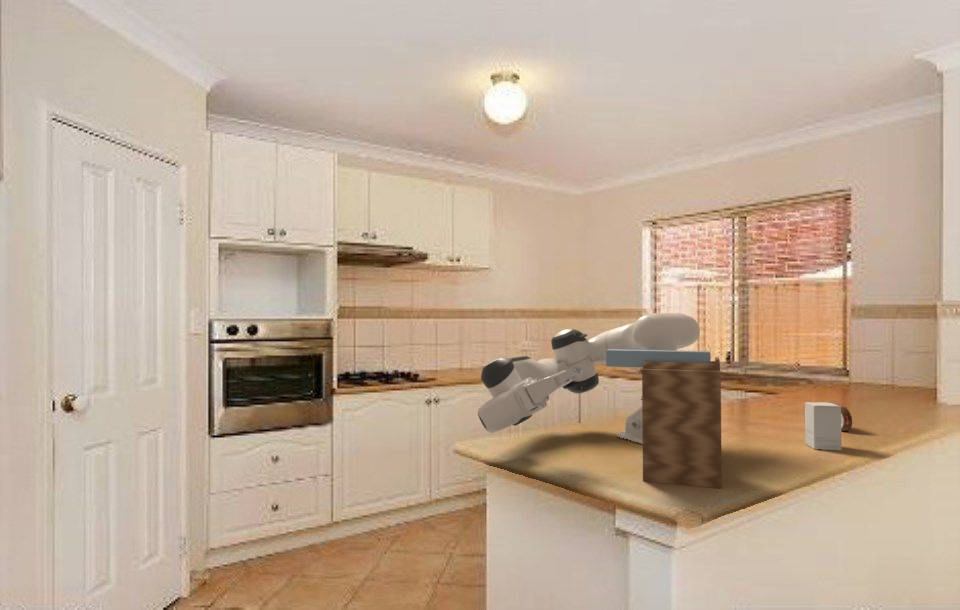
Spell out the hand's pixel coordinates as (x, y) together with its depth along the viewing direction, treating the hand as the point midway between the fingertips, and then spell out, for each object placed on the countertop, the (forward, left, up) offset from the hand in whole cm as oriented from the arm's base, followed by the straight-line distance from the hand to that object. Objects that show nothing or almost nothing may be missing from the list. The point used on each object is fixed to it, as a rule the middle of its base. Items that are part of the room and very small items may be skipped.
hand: (577, 370), depth 147 cm
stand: (+22, +13, -25) cm, 35 cm away
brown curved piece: (+24, +103, -25) cm, 108 cm away
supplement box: (+32, +71, -25) cm, 81 cm away
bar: (+17, +10, +1) cm, 20 cm away
